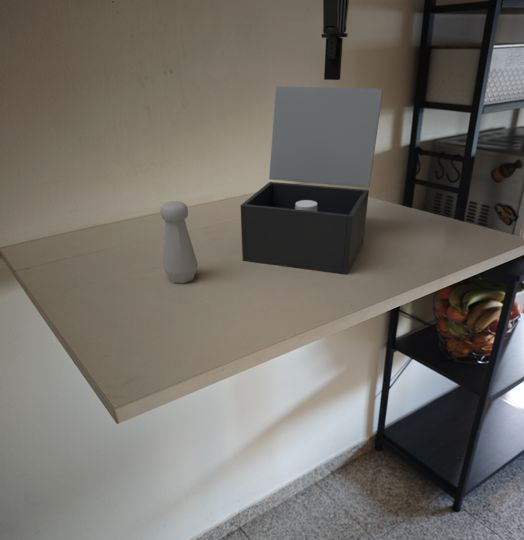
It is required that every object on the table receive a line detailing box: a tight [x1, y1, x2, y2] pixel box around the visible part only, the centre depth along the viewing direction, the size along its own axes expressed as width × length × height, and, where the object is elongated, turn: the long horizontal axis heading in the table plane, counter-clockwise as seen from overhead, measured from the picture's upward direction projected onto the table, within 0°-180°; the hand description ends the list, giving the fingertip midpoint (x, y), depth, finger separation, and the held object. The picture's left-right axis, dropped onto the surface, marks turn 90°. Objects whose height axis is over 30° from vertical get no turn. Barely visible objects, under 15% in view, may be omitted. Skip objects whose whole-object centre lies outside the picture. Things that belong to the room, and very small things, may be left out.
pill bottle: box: [295, 200, 317, 211], centre depth 92 cm, size 5×5×8 cm
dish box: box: [240, 181, 370, 275], centre depth 92 cm, size 16×20×10 cm
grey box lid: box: [268, 85, 384, 188], centre depth 93 cm, size 16×20×1 cm
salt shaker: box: [159, 200, 199, 284], centre depth 82 cm, size 6×6×13 cm
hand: (332, 79), depth 92 cm, fingers closed
